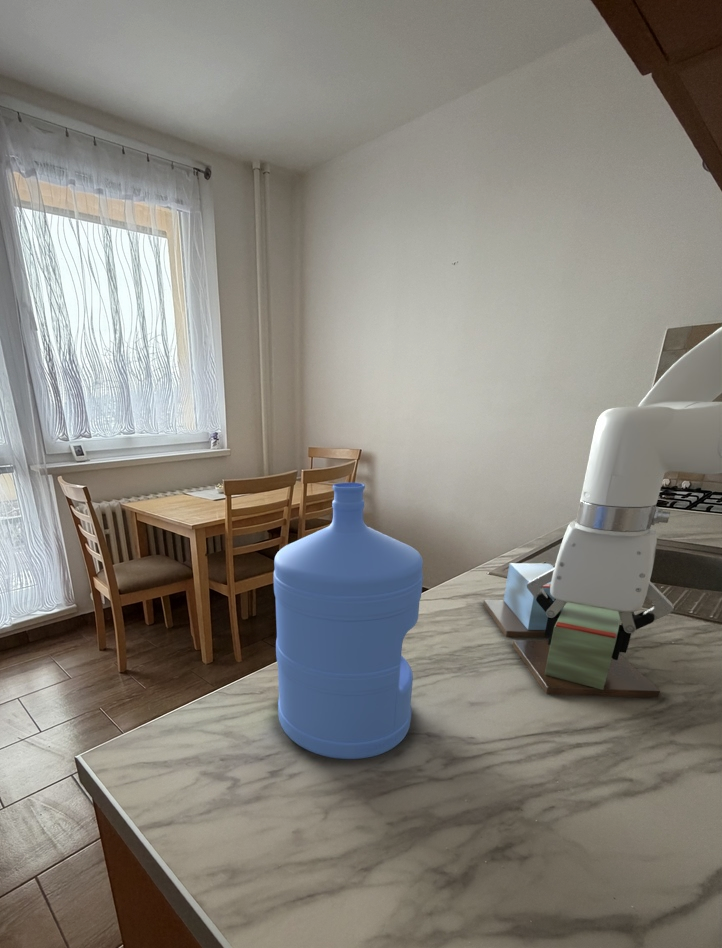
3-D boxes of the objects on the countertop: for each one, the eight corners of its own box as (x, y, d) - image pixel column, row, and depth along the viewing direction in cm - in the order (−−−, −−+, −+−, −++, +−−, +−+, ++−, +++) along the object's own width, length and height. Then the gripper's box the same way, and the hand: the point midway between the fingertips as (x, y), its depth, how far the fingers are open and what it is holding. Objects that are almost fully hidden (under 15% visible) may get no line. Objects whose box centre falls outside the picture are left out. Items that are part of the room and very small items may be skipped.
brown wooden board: (604, 651, 71) (606, 642, 71) (657, 701, 59) (660, 691, 59) (511, 648, 73) (513, 639, 72) (545, 697, 61) (547, 687, 61)
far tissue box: (503, 600, 86) (509, 561, 83) (542, 601, 85) (549, 562, 83) (527, 629, 75) (535, 586, 72) (572, 630, 74) (581, 586, 72)
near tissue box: (559, 639, 72) (569, 594, 69) (611, 651, 68) (624, 604, 65) (544, 674, 63) (554, 624, 60) (603, 690, 59) (616, 637, 57)
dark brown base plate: (558, 608, 86) (560, 600, 85) (594, 641, 74) (596, 632, 74) (482, 607, 88) (483, 599, 87) (505, 639, 76) (506, 631, 75)
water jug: (313, 781, 49) (312, 507, 38) (260, 700, 63) (248, 481, 52) (438, 740, 54) (468, 488, 44) (364, 674, 68) (373, 470, 57)
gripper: (705, 518, 56) (663, 654, 63) (539, 504, 66) (518, 623, 72) (710, 532, 50) (663, 679, 57) (527, 515, 60) (506, 643, 67)
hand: (582, 647), depth 65 cm, fingers closed on near tissue box, 6 cm apart
